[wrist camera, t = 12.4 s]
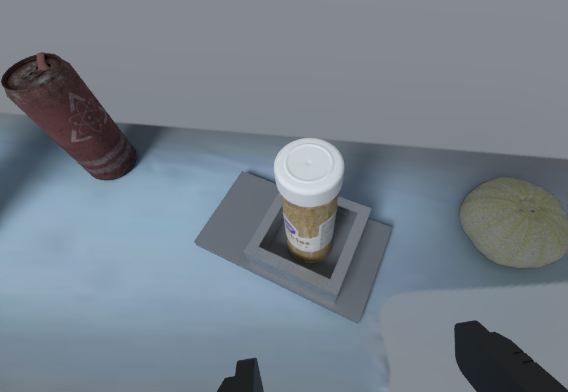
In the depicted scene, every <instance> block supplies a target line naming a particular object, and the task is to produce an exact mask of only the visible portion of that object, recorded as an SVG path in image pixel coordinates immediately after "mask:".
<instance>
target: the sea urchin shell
mask: <svg viewBox="0 0 568 392" xmlns="http://www.w3.org/2000/svg"><path fill="white" fill-rule="evenodd" d="M459 219H460V222H461V225H462V227H463V230H464V233H465V234H467V236H468V237H469V238H470V239H471V241H472V243H473V244H474V246H475V247H476V248H477V249H478V250H479V251H480V252H481V253H482V254H483V255H484V256H485V257H487V258H488V259H490V260H491V261H493V262H495V263H497V264H499V265H505V266H510V267H515V268H528V267H533V268H536V267H537V268H540V267H543V266H545V265H548V264H551V263H553V262H555V261H557V260H560V259H561V258H562V257H563V255H564V254H565V253H566V252H567V250H568V219H567V214H566V213H565V212H564V210H563V208H562V206H561V204H560V201H559V200H558V199H557V198H556V197H555V196H554V195H553V194H551V193H550V192H548V191H546V190H545V189H543V187H541V186H537V185H534V184H532V183H531V182H528V181H525V180H519V179H515V178H511V177H503V178H496V179H493V180H490V181H488V182H485V183H483V184H480V185H479V186H477V188H476V189H474V190H473V191H472V192H470V193H469V194H468V195H467V196H466V198H465V199H464V201H463V203H462V205H461V208H460V211H459Z"/></svg>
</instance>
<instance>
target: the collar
mask: <svg viewBox="0 0 568 392" xmlns="http://www.w3.org/2000/svg"><path fill="white" fill-rule="evenodd" d="M337 202H338V203H337V211H336V218H335V219H336V220H338V221H341V222H343V223H346V224H348V225H351V226H352V229H351V231H350V233H349V236H348V238H347V241H346V243H345V245H344V248H343V250H342V253H341V255H340V257H339V260H338V262H337V264H336V267H335V269H334V272H333V274H332V276H331V279H328V278H326V277H324V276H322V275H319V274H317V273H315V272H313V271H311V270H308V269H306V268H304V267H302V266H300V265H297V264H295V263H293V262H291V261H289V260H287V259H284V258H282V257H280V256H278V255H276V254H273V253H271V252H269V251H267V250H268V248H269V246H270V245H271V243H272V241H273V239H274V237H275V235H276V234H277V232H278V230H279V228H280V226H281V225H282V223H283V221H284V216H283V204H282V198H281V194H280V192H279V193H278V194H277V196H276V198H275V199H274V201H273V203H272V205H271V206H270V208H269V210H268V211H267V213H266V215H265V216H264V218H263V220H262V222H261V223H260V225H259V227H258V228H257V230H256V232H255V233H254V235H253V237H252V239H251V240H250V242H249V244H248V245H247V247H246V249H245V250H244V253H245V255H246V257H247V259H248V261H249V263H251V264H253V265H255V266H257V267H259V268H261V269H263V270H265V271H268V272H270V273H272V274H274V275H276V276H278V277H280V278H282V279H284V280H286V281H288V282H291V283H293V284H295V285H297V286H299V287H301V288H303V289H305V290H307V291H309V292H311V293H313V294H316V295H318V296H320V297H322V298H324V299H326V300H328V301H330V302H332V303H334V304H335V301H336V299H337V296H338V294H339V291H340V289H341V286H342V284H343V281H344V279H345V276H346V274H347V271H348V269H349V266H350V264H351V261H352V258H353V256H354V253H355V251H356V248H357V246H358V243H359V241H360V238H361V236H362V233H363V231H364V228H365V226H366V223H367V220H368V218H369V215H370V212H371V209H372V208H370V207H367V206H364V205H361V204H359V203H356V202H353V201H350V200H348V199H345V198H342V197H339V196H338V200H337Z"/></svg>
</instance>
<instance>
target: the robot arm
mask: <svg viewBox="0 0 568 392" xmlns="http://www.w3.org/2000/svg"><path fill="white" fill-rule="evenodd" d="M454 330H455V357H456V361H457V364H458V366H459V369H460V370H461V372H462V374H463V375H464V376H465V378H466V379H467V380H468V381H469V383H470V384H471V385H472V386H473V388H474V389H475V390H476V391H477V392H568V390H567V389H566V388H565V387H564V386H563V385H561V384H560V383H559V382H558V381H557V380H556V379H555V378H553V377H552V376H551V375H550V374H549V373H548V372H546V371H545V370H544V369H543V368H542V367H541V366H540V365H539V364H537V363H535V362H534V361H533V360H532V358H531V357H529V356H528V355H527V354H526V353H524V352H523V350H521V349H520V348H519V347H518V346H517V345H516V344H515V343H513V342H512V341H511V340H510V339H508V338H506V337H504V336H502V335H500V334H498V333H496V332H491V333H490V332H489V331H488V330H487V329H486V328H485V327H484V326H482V325H481V324H480V323H479V322H478V321H468V322H463V323H457V324H456V325H455V328H454ZM217 392H264V391H263V386H262V381H261V376H260V372H259V367H258V362H257V359H256V358H251V359H245V360H239V361H237V366H236V373H235V376H234V377H228V378H225V379H224V381H223V382H222V384H221V386H220V387H219V389H218V390H217Z"/></svg>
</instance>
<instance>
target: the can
mask: <svg viewBox="0 0 568 392" xmlns="http://www.w3.org/2000/svg"><path fill="white" fill-rule="evenodd" d="M1 83H2V86H3V87H4V88H5V91H6V94H7V96H8V97H9V98H10V99H11V100H12V101H13V102H14V103H15V104H16V105H17V106H18V107H19V108H20V109H21V110H22V111H24V112H25V113H26V114H27V115H28V116H29V117H30V118H31V119H32V120H33V121H34V122H35V123H36V124H37V125H38V126H40V127H41V128H42V129H43V130H44V131H45V132H46V133H47V134H48V135H49V136H50V137H51V138H52V139H53V140H54V141H56V142H57V143H58V144H59V145H60V146H61V147H62V148H63V149H64V150H65V151H66V152H67V153H68V154H69V155H70V156H71V157H73V158H74V159H75V160H76V161H77V162H78V163H79V164H80V165H81V166H82V167H83V168H84V169H85V170H86V171H87V172H89V173H90V174H91V175H92V176H93V177H95V178H96V179H100V180H114V179H117V178H120V177H122V176H124V175H125V174H127V173H128V172H129V171H130V170H131V169H132V167H133V166H134V164H135V161H136V151H135V149H134V148H133V146H132V145H131V144H130V142H129V141H128V140H127V138H126V137H125V136H124V134H123V133H122V132H121V130H120V129H119V128H118V126H117V125H116V124H115V122H114V121H113V120H112V119H111V117H110V116H109V115H108V113H107V112H106V111H105V109H104V108H103V107H102V105H101V104H100V103H99V101H98V100H97V99H96V98H95V96H94V95H93V94H92V92H91V91H90V90H89V88H88V87H87V86H86V84H85V83H84V82H83V80H82V79H81V78H80V76H79V75H78V74H77V73H76V71H75V70H74V69H73V67H72V66H71V65H70V63H68V62H66V61H64V60H62V59H61V58H60V57H59V56H57V55H55V54H49V53H43V52H41V53H38V54H37V55H34V56H30V57H28V58H25V59H23V60H21V61H19V62H18V63H16V64H14V65H13V66H12V67H10V68H9V69H8V70H7V71H6V72H5V74H4V75H3V77H2V80H1Z"/></svg>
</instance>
